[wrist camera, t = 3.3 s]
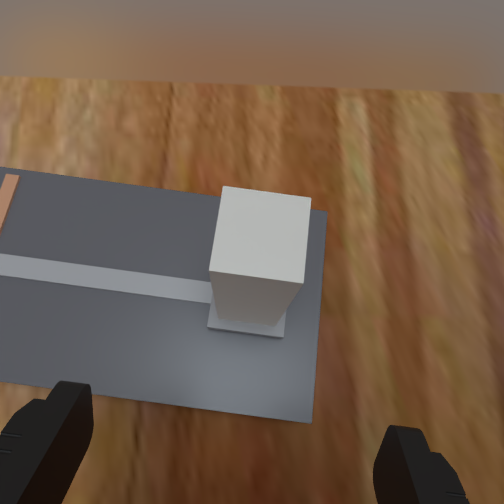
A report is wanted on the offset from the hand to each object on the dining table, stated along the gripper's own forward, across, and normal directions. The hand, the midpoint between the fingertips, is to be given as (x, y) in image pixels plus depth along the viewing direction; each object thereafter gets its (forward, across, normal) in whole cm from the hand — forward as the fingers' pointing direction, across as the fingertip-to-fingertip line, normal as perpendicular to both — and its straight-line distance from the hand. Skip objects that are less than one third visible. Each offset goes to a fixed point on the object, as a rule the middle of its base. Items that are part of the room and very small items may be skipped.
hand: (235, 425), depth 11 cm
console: (+14, +7, +5) cm, 16 cm away
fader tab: (+11, 0, +3) cm, 12 cm away
